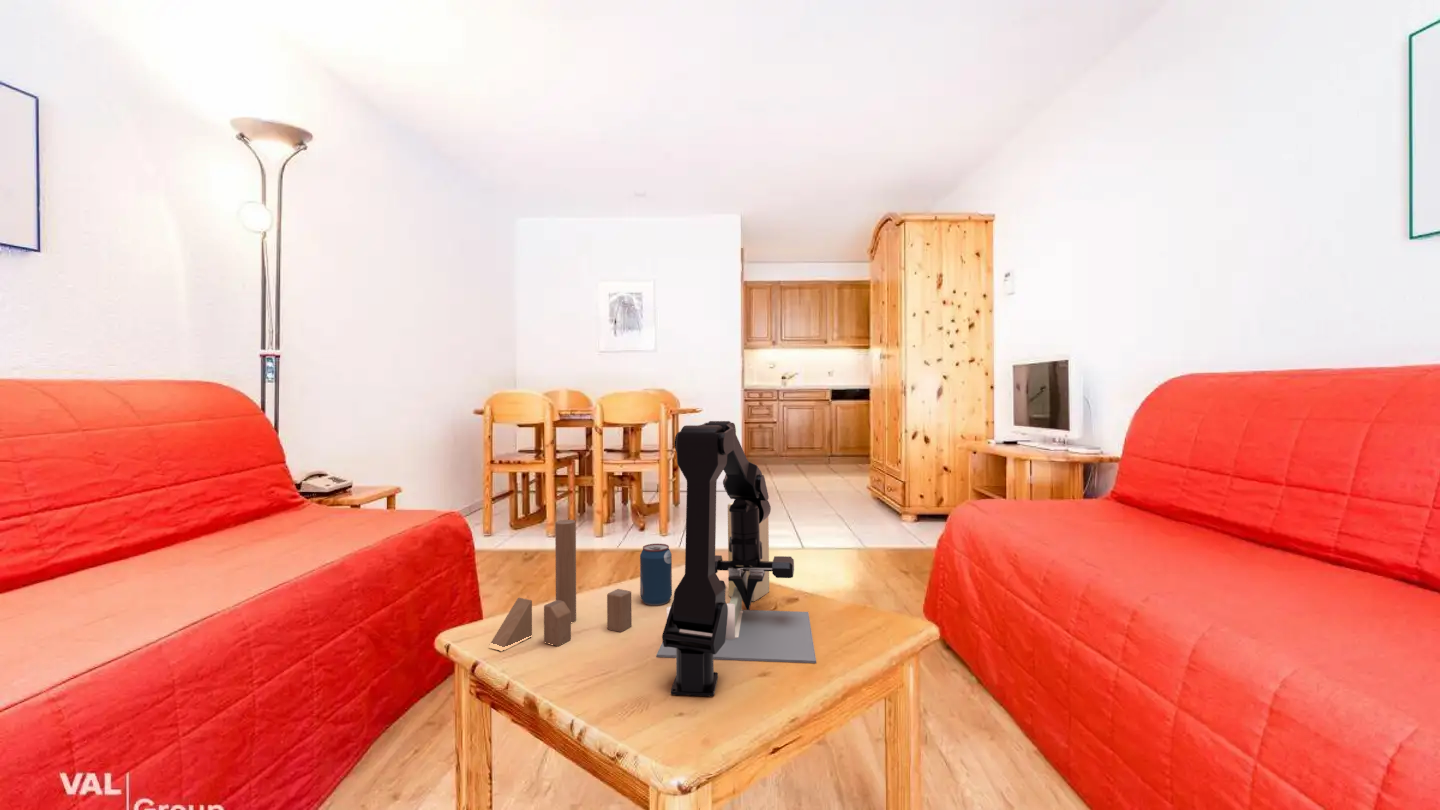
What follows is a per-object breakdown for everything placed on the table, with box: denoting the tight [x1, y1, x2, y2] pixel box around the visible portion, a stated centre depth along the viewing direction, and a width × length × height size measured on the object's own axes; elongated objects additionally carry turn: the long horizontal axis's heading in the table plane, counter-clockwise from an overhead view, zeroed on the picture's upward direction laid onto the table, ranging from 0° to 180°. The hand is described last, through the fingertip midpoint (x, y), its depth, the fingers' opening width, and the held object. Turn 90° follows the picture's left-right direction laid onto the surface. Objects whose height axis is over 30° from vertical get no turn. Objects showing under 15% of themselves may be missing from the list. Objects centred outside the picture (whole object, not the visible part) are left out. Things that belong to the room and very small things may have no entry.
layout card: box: [655, 602, 817, 664], centre depth 103 cm, size 22×27×6 cm
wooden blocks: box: [490, 519, 633, 647], centre depth 102 cm, size 17×20×20 cm
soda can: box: [639, 543, 673, 606], centre depth 121 cm, size 7×7×12 cm
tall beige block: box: [727, 502, 770, 602], centre depth 125 cm, size 8×7×21 cm
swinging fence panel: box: [729, 587, 743, 626], centre depth 107 cm, size 2×12×4 cm, turn 171°
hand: (747, 609), depth 109 cm, fingers closed
